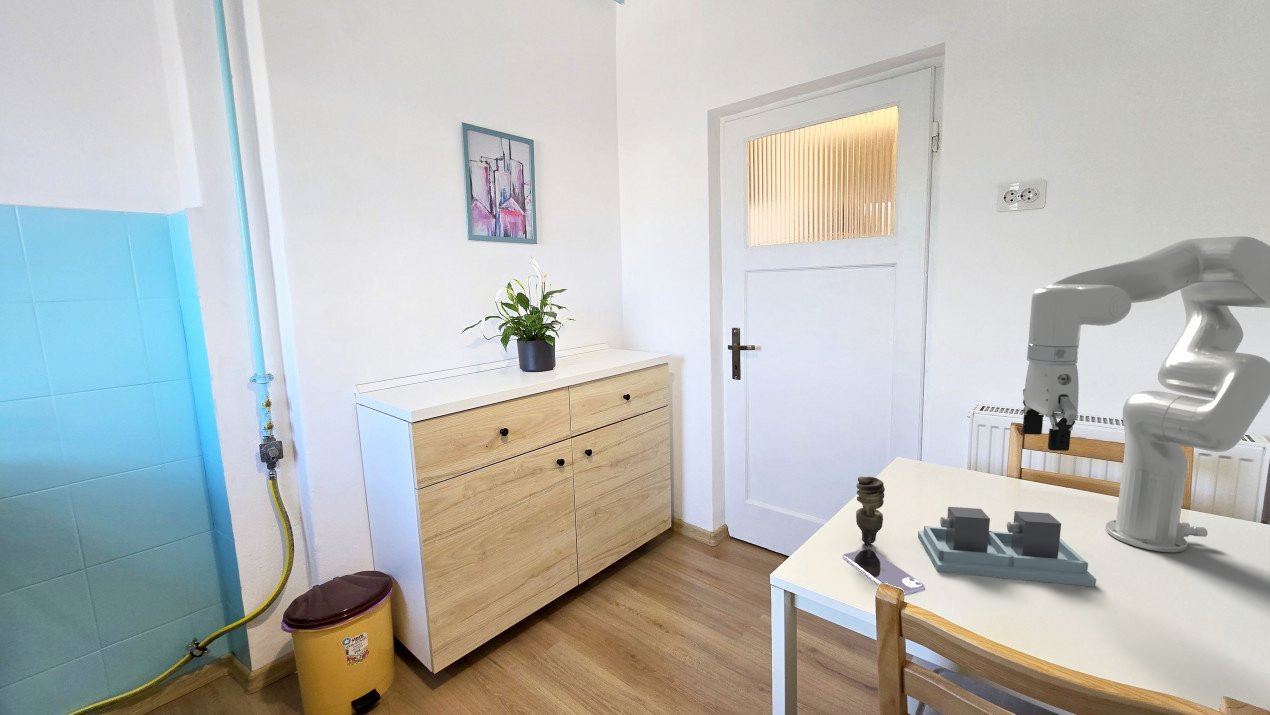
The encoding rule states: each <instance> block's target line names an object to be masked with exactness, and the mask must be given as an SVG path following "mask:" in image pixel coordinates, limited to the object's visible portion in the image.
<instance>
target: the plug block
mask: <svg viewBox="0 0 1270 715" xmlns="http://www.w3.org/2000/svg"><path fill="white" fill-rule="evenodd" d="M1006 529H1007V532H1009V533H1013V534H1012V545H1011V549H1012V550H1013V551H1014V552H1015V553H1016V554H1017V555H1018V556H1029V557H1041V558H1053V559H1058V550H1059V541H1060V538H1061V530H1062V523H1061V522H1060V521H1059V520H1058V519H1056V518H1055V517H1054V516H1053V515H1052V514H1051V513H1050V512H1049V513H1048V512H1036V511H1020V510H1019V511H1017V510H1014V513H1013V521H1012V522H1011V521H1007V523H1006Z"/></svg>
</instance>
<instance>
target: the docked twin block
mask: <svg viewBox="0 0 1270 715" xmlns="http://www.w3.org/2000/svg"><path fill="white" fill-rule="evenodd" d="M939 521H940V522H939V523H940V524H939V525H940V527H942V528H947V531H946V544H947V546H948V547H949V549H950V550H959V551H970V552H982V553H987V549H988V537H989V531H990V522H991V518H990V517H989V516H988V515H987V514H986V512H984V510H983V509H982V508H976V507H975V508H973V507H961V506H960V507H958V506H948V507H947V517H944V516H942V517H940V519H939Z"/></svg>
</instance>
